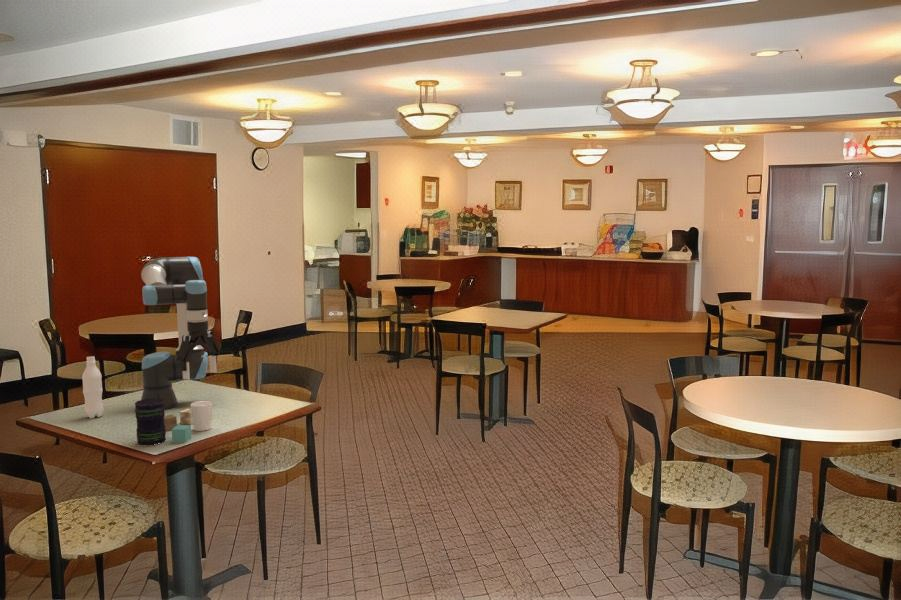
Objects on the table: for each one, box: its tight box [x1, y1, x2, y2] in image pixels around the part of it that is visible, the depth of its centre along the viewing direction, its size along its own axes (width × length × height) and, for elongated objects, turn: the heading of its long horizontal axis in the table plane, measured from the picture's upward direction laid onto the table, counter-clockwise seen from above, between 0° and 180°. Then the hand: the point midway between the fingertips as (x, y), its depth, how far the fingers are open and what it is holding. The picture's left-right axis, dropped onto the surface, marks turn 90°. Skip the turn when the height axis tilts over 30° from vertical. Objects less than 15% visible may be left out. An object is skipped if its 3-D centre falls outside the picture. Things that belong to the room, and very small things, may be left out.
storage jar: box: [134, 398, 167, 446], centre depth 256 cm, size 10×10×15 cm
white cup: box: [190, 400, 213, 432], centre depth 272 cm, size 8×8×10 cm
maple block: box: [179, 408, 193, 426], centre depth 281 cm, size 5×5×5 cm
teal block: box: [171, 424, 192, 443], centre depth 258 cm, size 5×5×5 cm
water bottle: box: [81, 355, 105, 419], centre depth 288 cm, size 7×7×25 cm
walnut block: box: [164, 414, 178, 432], centre depth 272 cm, size 5×5×5 cm
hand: (200, 375), depth 270 cm, fingers open, 13 cm apart
